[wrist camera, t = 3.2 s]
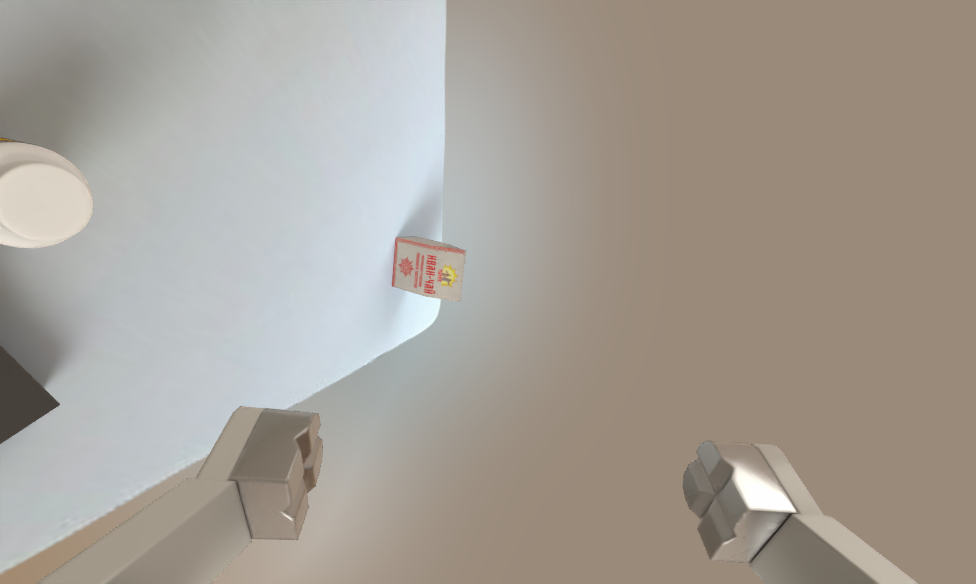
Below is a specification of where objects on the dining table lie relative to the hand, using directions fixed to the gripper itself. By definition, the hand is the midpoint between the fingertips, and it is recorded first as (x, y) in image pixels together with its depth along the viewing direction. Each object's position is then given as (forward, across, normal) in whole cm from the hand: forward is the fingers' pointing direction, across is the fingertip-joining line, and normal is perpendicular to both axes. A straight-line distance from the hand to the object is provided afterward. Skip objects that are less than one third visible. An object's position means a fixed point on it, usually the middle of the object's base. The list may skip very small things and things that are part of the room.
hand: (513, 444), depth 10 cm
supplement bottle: (+22, +31, +6) cm, 38 cm away
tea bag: (+50, +8, +25) cm, 57 cm away
